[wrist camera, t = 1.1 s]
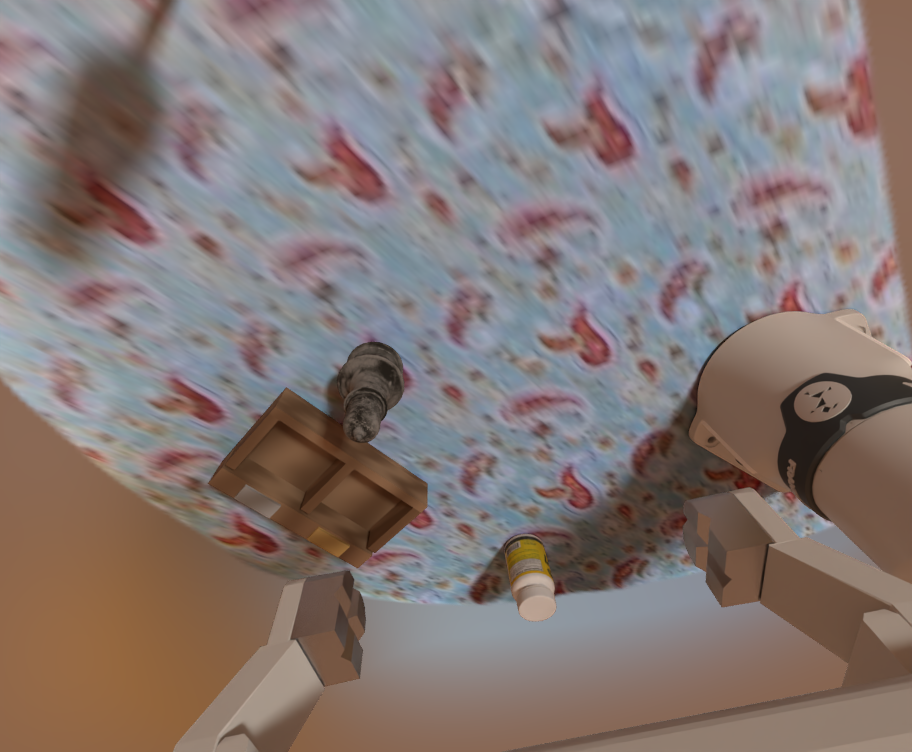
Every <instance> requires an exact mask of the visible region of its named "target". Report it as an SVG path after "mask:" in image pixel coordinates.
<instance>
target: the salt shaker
mask: <svg viewBox="0 0 912 752" xmlns="http://www.w3.org/2000/svg"><path fill="white" fill-rule="evenodd" d="M402 373H403V364H402V360H401V358H400V356H399V354H398V353H397V352H396V351H395V350H394V349H393V348H391V347H390V346H388V345H386V344H383V343H380V342H368V343H364V344H361V345H359V346H357V347H356V348H355V349H354V350H353V351H352V352H351V354H350V355H349V357H348V361H347V363H346V364H344V365H343V367H342V369H341V370H340V372H339V375H338V379H337V386H338V390H339V393H340V395H341V397H342V398H343V400H344V412H345V417H344V421H343V431H344V433H345V435H346V436H347V437H348V438H349V439H350V440H352V441H354V442H357V443H366V442H369V441H371V440H373V439H374V438H375V437H376V435H377V434H378V432H379V429H380V423H381V421H382V420H383V419H384V418H385V416H386V414H387V411H388V410H389V409H391V408H392V407H394V406H395V405H396V404H397V403H398V402H399V400H400V399H401V398H402V395H403V392H404V379H403V376H402Z"/></svg>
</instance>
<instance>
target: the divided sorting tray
mask: <svg viewBox="0 0 912 752" xmlns="http://www.w3.org/2000/svg"><path fill="white" fill-rule="evenodd" d="M208 484H210V485H211V486H213V487H215V488H217V489H219V490H220V491H222V492H224V493H226V494H227V495H229V496H231V497H233V498H234V499H235V500H237V501H239V502H241V503H242V504H244V505H246V506H248V507H250V508H251V509H253V510H255V511H257V512H258V513H260V514H262V515H264V516H265V517H267V518H270V519H272V520H273V521H275V522H277V523H279V524H280V525H282V526H284V527H286V528H287V529H289V530H291V531H293V532H294V533H296V534H298V535H300V536H302V537H303V538H305V539H307V540H308V541H310V542H311V543H313V544H315V545H317V546H318V547H320V548H322V549H324V550H326V551H327V552H329V553H331V554H333V555H334V556H336V557H339V558H340V559H342V560H344V561H346V562H347V563H349V564H351V565H353V566H354V567H356V568H359V567H360V566H361V565H362V564H363V563H364V562H365V561H367V560H368V559H369V558H370V557H371V556H372V552H374V553H376V552H377V551H378V550H379V549H380V548H381V547H382V546H384V545H385V544H386V543H387V542H388V541H389V540H390V539H392V538H393V537H394V536H395V535H396V534H397V533H398V532H399V531H401V530H402V529H403V528H404V527H405V526H406V525H407V524H409V523H410V522H411V521H412V520H413V519H414V518H415V517H416V516H418V515H419V514H420V513H421V512H422V511H423V510H424V509H426V508H427V487H428V484H427V483H426V482H424V481H423V480H421V479H420V478H418V477H417V476H415V475H414V474H412V473H411V472H409V471H408V470H407V469H405V468H404V467H402V466H401V465H399V464H398V463H396V462H395V461H393V460H392V459H390V458H389V457H388V456H386V455H385V454H383V453H382V452H380V451H379V450H377V449H376V448H374V447H373V446H371V445H370V444H369V443H367V442H366V443H357V442H354V441H352V440H350V439H349V438H348V437H347V436H346V435H345V433H344V431H343V426H342V425H341V424H339V423H338V422H336V421H335V420H333V419H332V418H330V417H329V416H328V415H326V414H325V413H323V412H322V411H320V410H319V409H317V408H316V407H314V406H313V405H311V404H310V403H309V402H307V401H306V400H304V399H303V398H301V397H300V396H298V395H297V394H295V393H294V392H292V391H291V390H290V389H288V388H287V387H286V388H285V389H284V391H283V392H282V393H281V394H280V395H279V396H278V398H277V399H276V400H275V401H274V402H273V403H272V404H271V406H270V407H269V408H268V409H267V410H266V411H265V413H264V414H263V415H262V416H261V417H260V418H259V419H258V421H257V422H256V423H255V424H254V425H253V426H252V427H251V429H250V430H249V431H248V432H247V433H246V434H245V436H244V437H243V438H242V439H241V440H240V441H239V442H238V444H237V445H236V446H235V447H234V448H233V449H232V451H231V452H230V453H229V454H228V455H227V456H226V457H225V459H224V460H223V461H222V463H221V464H220V466H219V467H218V469H217V470H216V472H215V474H214V475H213V477H212V478H211V480H210V482H209V483H208Z"/></svg>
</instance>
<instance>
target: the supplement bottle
mask: <svg viewBox="0 0 912 752" xmlns="http://www.w3.org/2000/svg"><path fill="white" fill-rule="evenodd" d="M504 553H505V559H506V564H507V569H508V575H509V580H510V586H511V592H512V595H513V598H514V599H515V600H516V601H517V606H518V611H519V614H520V615H521V617H523V618H524V619H526V620H529V621H542V620H546V619H548V618H549V617H551V616H552V615H553V614H554V613H555V610H556V602H555V596H554V589H555V587H554V582H553V578H552V575H551V571H550V567H549V564H548V560H547V556H546V553H545V549H544V546H543V543H542V541H541V540H540V539H539V538H538V537H537V536H535V535H532V534H520V535H517V536H514V537H512V538H511V539H510V540H509V541H508V542H507V543H506V545H505V548H504Z"/></svg>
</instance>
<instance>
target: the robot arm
mask: <svg viewBox="0 0 912 752" xmlns="http://www.w3.org/2000/svg"><path fill="white" fill-rule="evenodd" d="M911 365H912V362H911V361H910V360H909V359H908V358H907V357H906V356H904V355H902V354H901V353H899V352H897V351H895V350H894V349H892V348H890V347H888V346H886V345H885V344H883V343H881V342H879V341H878V340H876V339H874V338H872V336H871V333H870V330H869V327H868V324H867V321H866V318H865V316H864V315H863V314H861V313H859V312H858V311H856V310H854V309H845V310H839V311H835V312H831V313H827V314H814V313H807V312H796V311H793V312H782V313H777V314H773V315H769V316H766V317H763V318H761V319H758V320H756V321H754V322H752V323H750V324H748V325H747V326H745V327H743V328H742V329H740V330H739V331H737V332H736V333H735V334H733V335H732V336H731V337H730V338H728V339H727V340H726V341H725V342H724V343H723V344H722V345H721V346H720V347H719V348H718V349H717V351H716V352H715V353H714V354H713V356H712V357H711V359H710V360H709V362H708V363H707V365H706V367H705V369H704V371H703V373H702V376H701V379H700V382H699V387H698V407H697V413H696V415H695V417H694V419H693V422H692V424H691V426H690V429H689V437H690V438H691V439H692V440H693V441H694V442H695V443H696V444H698V445H699V446H701V447H703V448H704V449H706V450H708V451H710V452H711V453H713V454H715V455H716V456H718V457H720V458H722V459H723V460H725V461H727V462H729V463H730V464H732V465H734V466H736V467H737V468H739V469H741V470H742V471H744V472H746V473H748V474H749V475H751V476H753V477H755V478H756V479H758V480H760V481H761V482H763V483H765V484H767V485H768V486H770V487H772V488H774V489H775V490H777V491H779V492H790V491H791V492H793V494H794V495H795V496H796V497H797V498H798V499H799V500H800V501H801V502H802V503H803V504H804V505H806V506H807V507H808V508H809V509H811V510H813V511H814V512H815V513H816V514H818V515H819V516H820V517H822V518H824V519H826V520H829V521H832V522H833V523H834V524H835V525H836V526H837V527H838V528H839V529H840V530H841V531H842V532H843V533H844V534H845V535H846V536H847V537H848V538H849V539H850V540H852V541H853V542H854V543H855V544H856V545H857V546H858V547H859V548H860V549H861V550H862V551H863V552H864V553H865V554H866V555H867V556H868V557H869V558H870V559H871V560H872V561H873V562H874V563H875V564H876V565H877V566H878V567H879V568H880V569H881V570H882V571H881V570H879V569H877V568H874V567H872V566H870V565H868V564H865V563H863V562H861V561H859V560H856V559H854V558H852V557H850V556H847V555H845V554H843V553H841V552H839V551H836V550H834V549H832V548H830V547H827V546H825V545H823V544H820V543H818V542H816V541H814V540H812V539H810V538H807V537H805V538H799V537H798V536H797V535H796V534H795V532H794V531H793V530H792V529H791V528H790V527H789V526H788V525H787V524H786V523H785V522H784V521H783V520H782V519H781V518H780V516H779V515H778V514H777V513H776V512H775V511H774V510H773V509H772V508H771V507H770V506H769V505H768V504H767V503H766V502H765V500H764V499H763V498H762V497H761V496H760V495H759V494H758V493H757V492H756V491H755V490H754V489H752V488H750V487H748V488H743V489H738V490H733V491H729V492H723V493H718V494H714V495H709V496H705V497H700V498H695V499H691V500H686V501H685V503H684V505H683V513H684V515H685V516H686V518H687V519H688V520H687V522H686V523H685V524H684V525H683V539H684V543H685V546H686V549H687V551H688V554H689V556H690V558H691V559H692V561H693V563H694V564H695V566H696V567H698V568H700V569H702V570H703V571H705V572H706V583H707V585H708V587H709V588H710V590H711V591H712V593H713V594H714V596H715V598H716V599H717V601H718V602H719V604H720V605H721V607H727V606H733V605H739V604H745V603H751V602H757V601H760V603H761V604H762V605H764V606H765V607H767V608H768V609H770V610H771V611H773V612H774V613H776V614H777V615H778V616H780V617H781V618H783V619H784V620H786V621H787V622H789V623H790V624H792V625H793V626H794V627H796V628H797V629H799V630H800V631H802V632H803V633H805V634H806V635H808V636H809V637H811V638H812V639H813V640H815V641H817V642H818V643H819V644H821V645H822V646H824V647H825V648H826V649H828V650H829V651H831V652H832V653H834V654H835V655H837V656H838V657H840V658H841V659H842V660H844V661H845V662H847V663H848V667H847V670H846V673H845V677H844V680H843V683H842V687H841V688H835V689H830V690H825V691H820V692H814V693H809V694H804V695H798V696H793V697H788V698H783V699H777V700H772V701H767V702H761V703H757V704H751V705H746V706H741V707H735V708H730V709H725V710H720V711H714V712H709V713H703V714H698V715H693V716H688V717H683V718H678V719H672V720H667V721H661V722H656V723H651V724H645V725H640V726H635V727H630V728H624V729H619V730H614V731H608V732H603V733H598V734H592V735H587V736H582V737H577V738H571V739H566V740H561V741H556V742H551V743H545V744H540V745H535V746H530V747H524V748H520V749H514V750H509V751H503V752H912V368H911V367H910V366H911ZM710 437H711V438H710ZM709 438H710V439H709ZM353 585H354V578H353V576H352V574H351V572H350V571H341V572H335V573H329V574H324V575H318V576H312V577H308V578H303V579H297V580H292V581H288V582H287V583H286V585H285V586H284V588H283V590H282V594H281V597H280V601H279V604H278V607H277V611H276V614H275V618H274V621H273V625H272V628H271V631H270V635H269V638H268V642H267V645H265V646H261V647H260V648H259V649H258V650H257V651H256V652H255V654H254V655H253V656H252V657H251V658H250V659H249V660H248V662H247V663H246V664H245V665H244V666H243V667H242V669H241V670H240V671H239V672H238V673H237V674H236V676H235V677H234V678H233V679H232V680H231V681H230V683H229V684H228V685H227V686H226V687H225V688H224V689H223V691H222V692H221V693H220V694H219V695H218V697H217V698H216V699H215V700H214V701H213V702H212V703H211V705H210V706H209V707H208V708H207V709H206V710H205V712H204V713H203V714H202V715H201V716H200V717H199V718H198V720H197V721H196V722H195V723H194V724H193V725H192V727H191V728H190V729H189V730H188V731H187V732H186V734H185V735H184V736H183V737H182V738H181V739H180V741H179V742H178V743H177V744H176V746H175V748H174V751H173V752H288V751H289V749H290V747H291V746H292V744H293V742H294V740H295V739H296V737H297V735H298V734H299V732H300V730H301V729H302V727H303V725H304V723H305V722H306V720H307V718H308V717H309V715H310V713H311V711H312V710H313V708H314V706H315V705H316V703H317V701H318V700H319V698H320V696H321V695H322V692H323V691H324V689H325V688H324V687H325V686H329V685H334V684H338V683H343V682H347V681H351V680H356V679H360V672H361V663H362V653H363V649H362V647H361V646H360V643H359V640H360V638H361V637H362V635H363V634H364V633H365V623H366V617H365V606H364V602H363V598H362V596H361V593H360V592H359V591H358V590H356V589H354V588H353Z"/></svg>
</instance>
